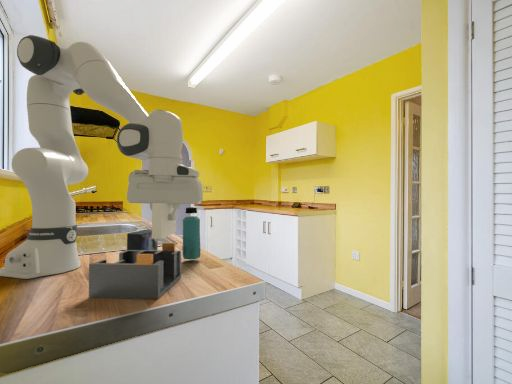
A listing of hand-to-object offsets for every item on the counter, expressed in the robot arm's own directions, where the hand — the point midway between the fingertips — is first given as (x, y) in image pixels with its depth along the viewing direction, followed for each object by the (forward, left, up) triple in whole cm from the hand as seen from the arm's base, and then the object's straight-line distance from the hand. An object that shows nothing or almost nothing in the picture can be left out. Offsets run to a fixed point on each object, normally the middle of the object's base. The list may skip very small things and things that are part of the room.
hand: (164, 220), depth 67 cm
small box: (-20, +26, -18) cm, 37 cm away
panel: (0, 0, -4) cm, 4 cm away
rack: (-6, -2, -18) cm, 19 cm away
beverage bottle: (0, +23, -18) cm, 29 cm away
